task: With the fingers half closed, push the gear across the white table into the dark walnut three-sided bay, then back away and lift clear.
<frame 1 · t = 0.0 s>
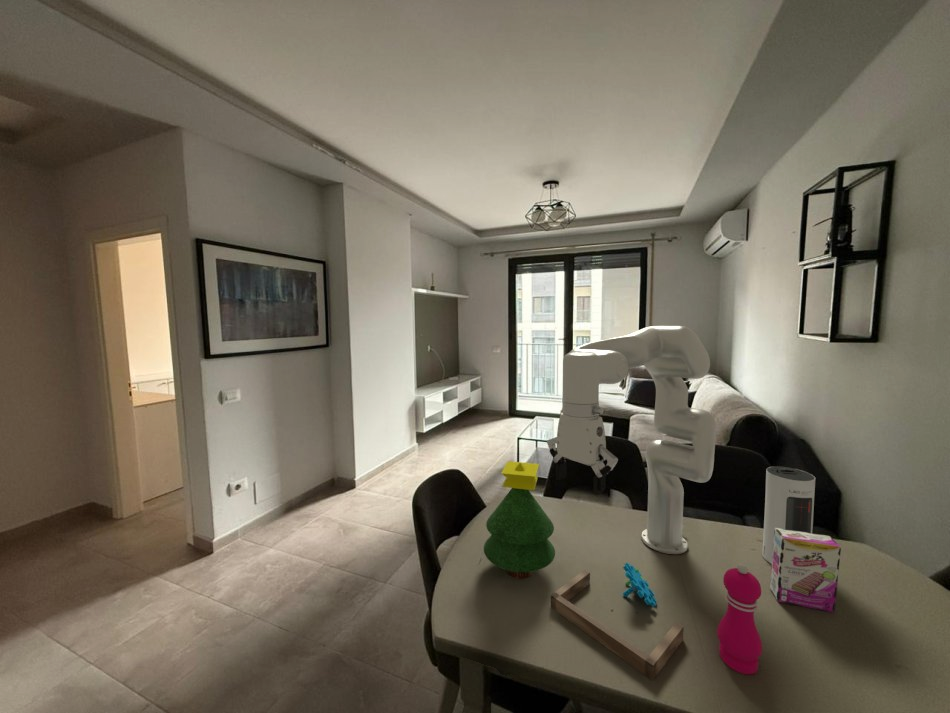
hand: (579, 485, 82), 31 cm above the table, tool pointing down, fingers open, 9 cm apart
speaker: (784, 562, 104), on the table
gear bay: (613, 622, 83), on the table
gear: (638, 598, 91), on the table
decorative tree: (518, 571, 101), on the table
pepper mill: (737, 661, 74), on the table
candy bar box: (801, 602, 89), on the table
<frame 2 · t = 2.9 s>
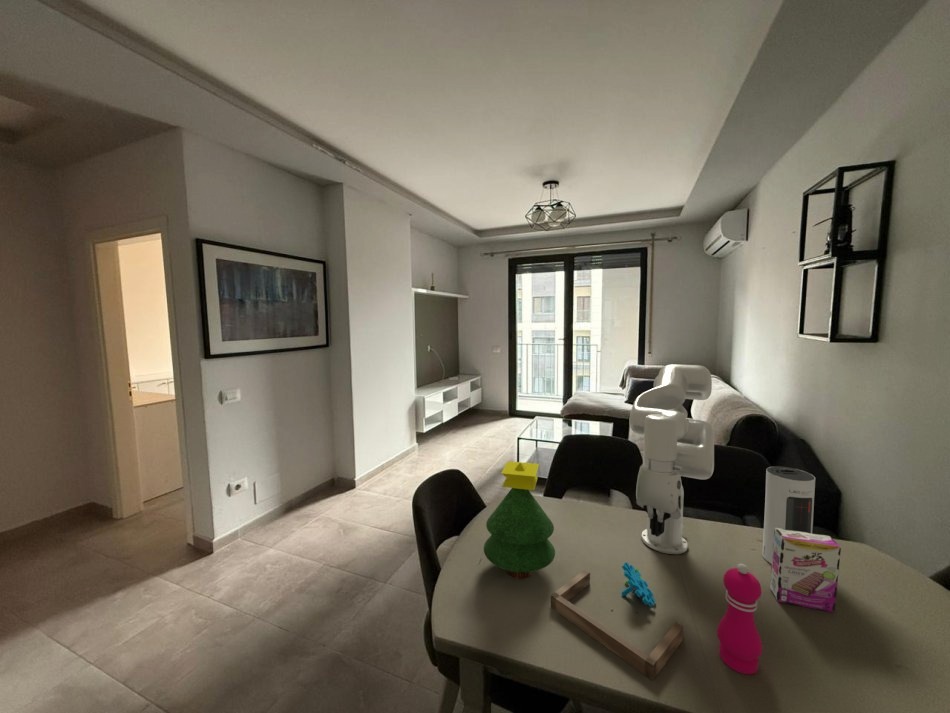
hand: (656, 533, 95), 13 cm above the table, tool pointing down, fingers closed
nothing on the table moved.
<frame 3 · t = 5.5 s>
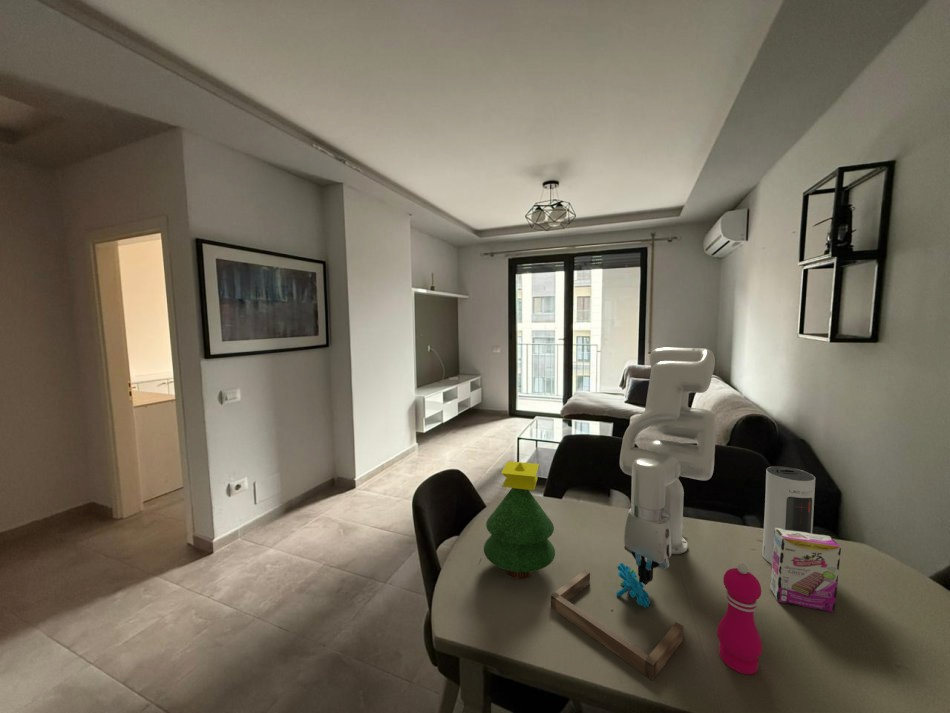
hand: (645, 580, 92), 3 cm above the table, tool pointing down, fingers closed
gear: (632, 598, 91), on the table, touching gripper
everything else where it was.
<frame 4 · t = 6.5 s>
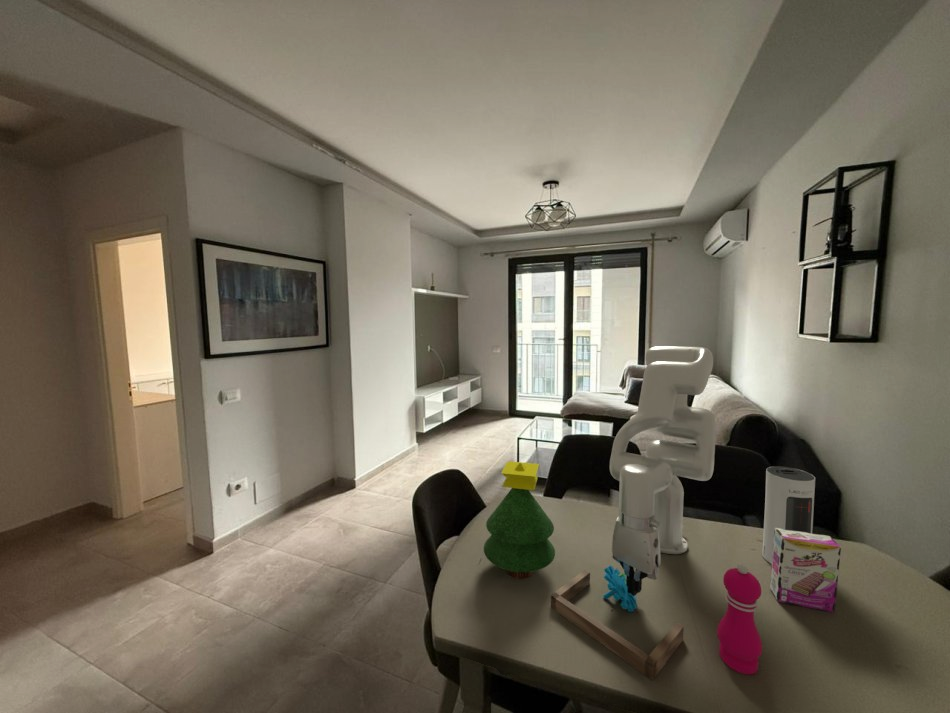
hand: (633, 591, 89), 3 cm above the table, tool pointing down, fingers closed
gear: (619, 602, 90), on the table, touching gripper
everything else where it was.
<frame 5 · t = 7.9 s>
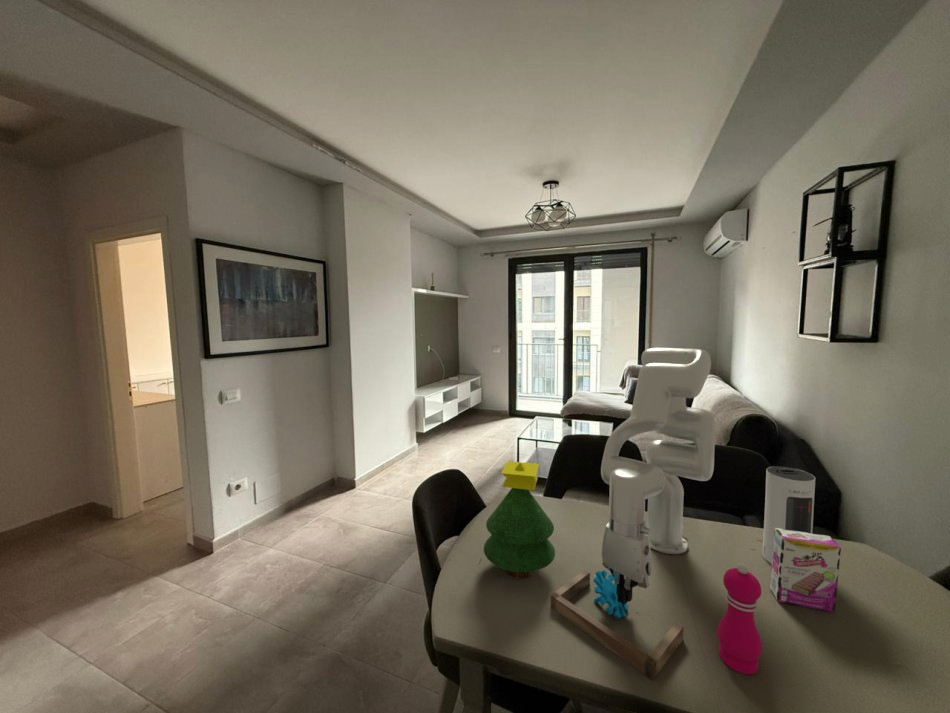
hand: (624, 600, 86), 3 cm above the table, tool pointing down, fingers closed
gear: (610, 608, 88), on the table, touching gripper
everything else where it was.
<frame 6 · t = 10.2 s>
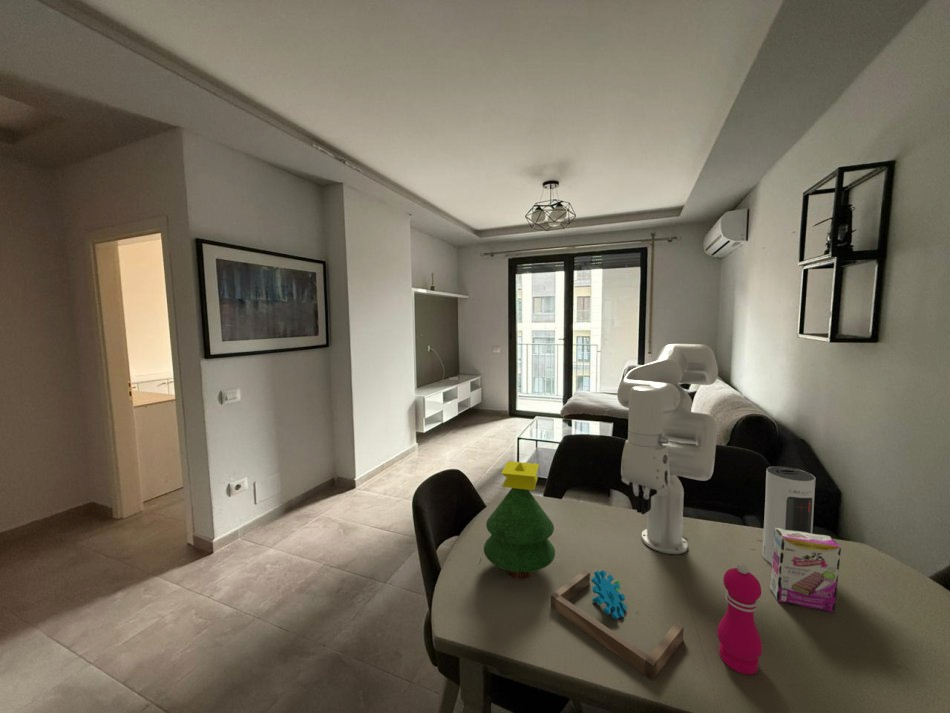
hand: (643, 511, 90), 21 cm above the table, tool pointing down, fingers closed
gear: (609, 608, 88), on the table
everything else where it was.
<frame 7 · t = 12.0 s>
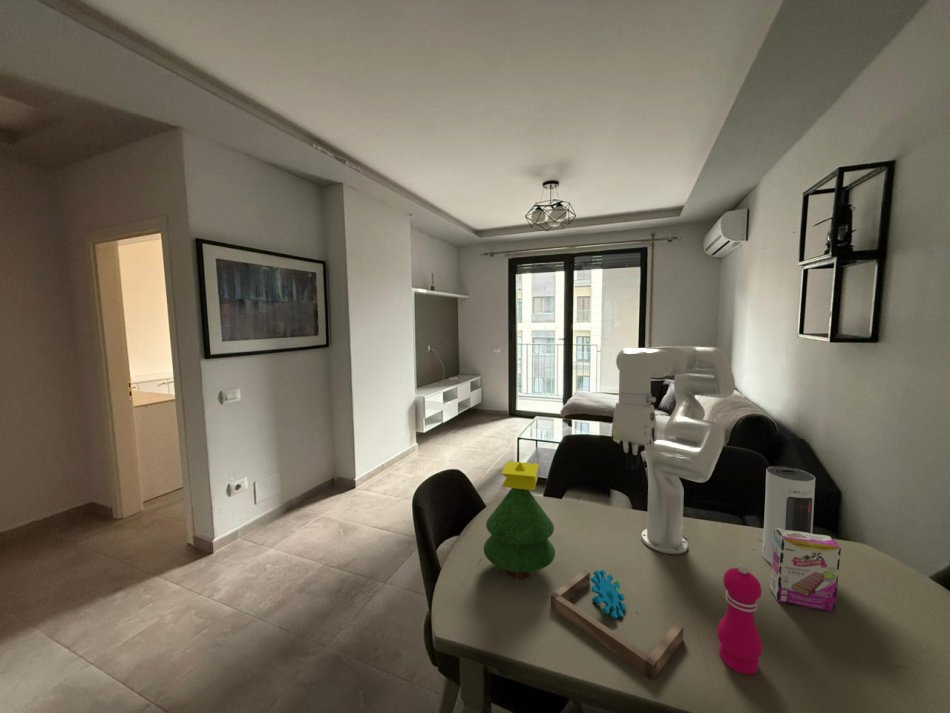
hand: (632, 467, 97), 29 cm above the table, tool pointing down, fingers closed
nothing on the table moved.
at the end: gear inside the target area (4.1 cm from its centre), on the table; gear tilted 0°; gear moved 9.1 cm from its start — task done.
